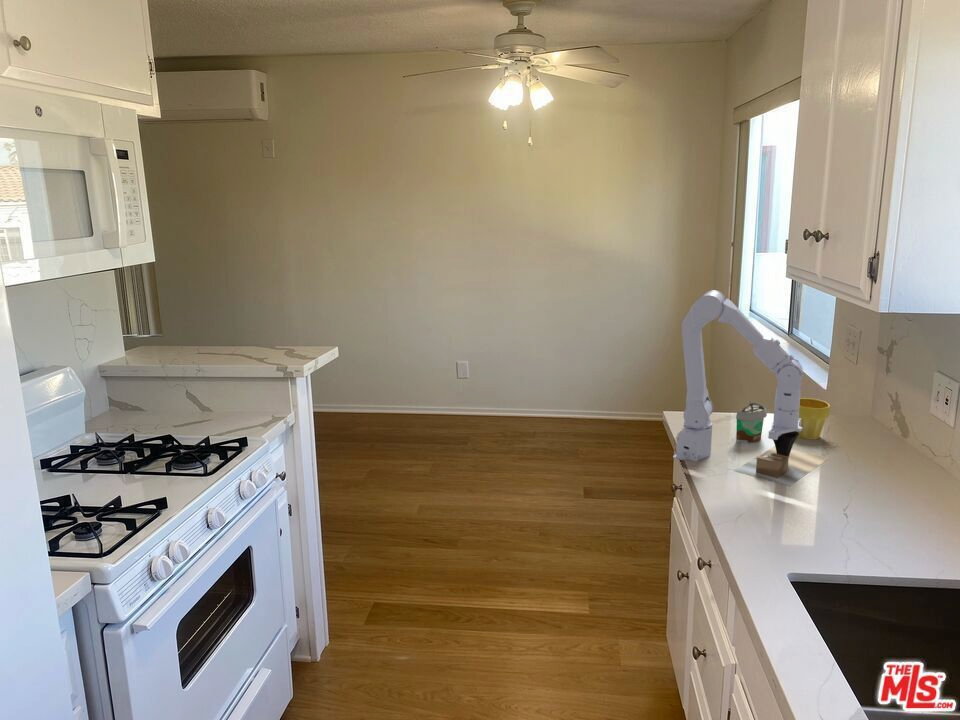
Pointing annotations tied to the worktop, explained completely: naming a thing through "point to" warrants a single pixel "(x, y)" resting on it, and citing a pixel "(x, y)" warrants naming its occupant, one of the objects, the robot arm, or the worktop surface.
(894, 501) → the worktop surface
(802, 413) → the plant pot
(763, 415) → the food container
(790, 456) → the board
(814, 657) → the worktop surface
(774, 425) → the robot arm
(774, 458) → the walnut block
